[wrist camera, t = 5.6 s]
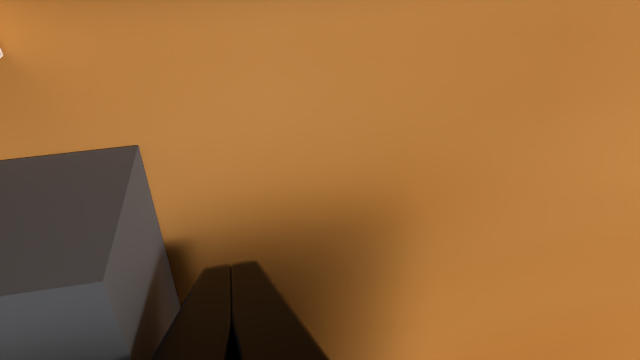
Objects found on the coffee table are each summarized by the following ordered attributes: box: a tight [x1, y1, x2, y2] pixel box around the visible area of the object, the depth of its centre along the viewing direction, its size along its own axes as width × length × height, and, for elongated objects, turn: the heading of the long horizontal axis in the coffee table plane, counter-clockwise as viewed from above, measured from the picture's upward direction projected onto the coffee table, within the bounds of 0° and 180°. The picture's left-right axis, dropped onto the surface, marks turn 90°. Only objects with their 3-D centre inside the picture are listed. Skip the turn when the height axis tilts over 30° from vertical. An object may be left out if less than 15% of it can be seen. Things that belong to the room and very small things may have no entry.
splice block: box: [0, 145, 181, 360], centre depth 7 cm, size 4×4×3 cm
